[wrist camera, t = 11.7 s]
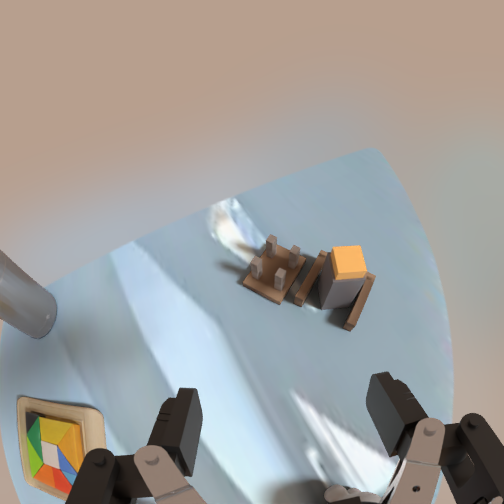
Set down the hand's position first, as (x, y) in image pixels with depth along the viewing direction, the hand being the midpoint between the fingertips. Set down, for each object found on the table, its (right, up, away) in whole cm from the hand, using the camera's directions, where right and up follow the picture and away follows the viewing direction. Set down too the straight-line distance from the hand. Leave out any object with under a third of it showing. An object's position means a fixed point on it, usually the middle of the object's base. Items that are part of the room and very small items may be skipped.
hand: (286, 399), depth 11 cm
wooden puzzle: (-30, -25, +15) cm, 42 cm away
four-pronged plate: (+2, +3, +30) cm, 30 cm away
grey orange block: (+10, 0, +27) cm, 29 cm away
